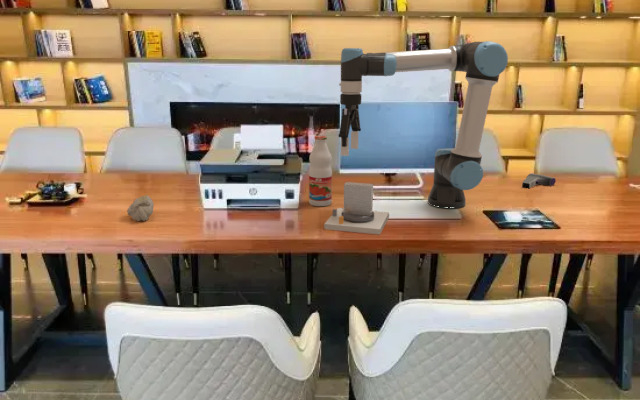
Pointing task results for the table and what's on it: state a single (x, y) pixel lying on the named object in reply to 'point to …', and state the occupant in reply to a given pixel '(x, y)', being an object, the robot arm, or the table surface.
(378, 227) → the dial plate
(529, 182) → the infrared thermometer
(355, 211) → the dial knob
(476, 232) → the table surface
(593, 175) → the table surface
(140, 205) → the fossil replica
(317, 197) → the fruit juice
